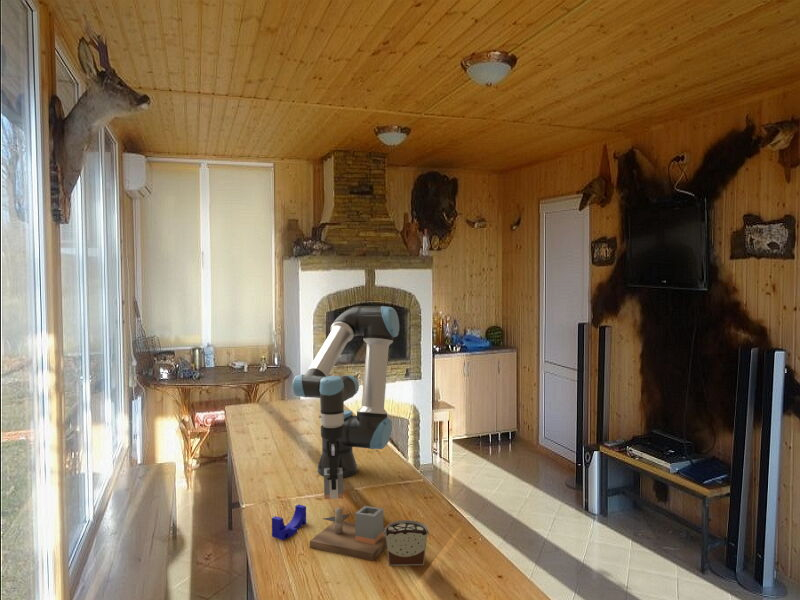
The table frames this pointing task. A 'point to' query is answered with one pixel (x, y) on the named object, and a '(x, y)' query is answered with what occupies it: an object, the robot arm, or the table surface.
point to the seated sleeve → (369, 525)
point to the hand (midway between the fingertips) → (333, 494)
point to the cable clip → (289, 524)
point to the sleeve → (326, 483)
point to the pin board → (346, 540)
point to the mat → (334, 517)
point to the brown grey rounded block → (406, 542)
